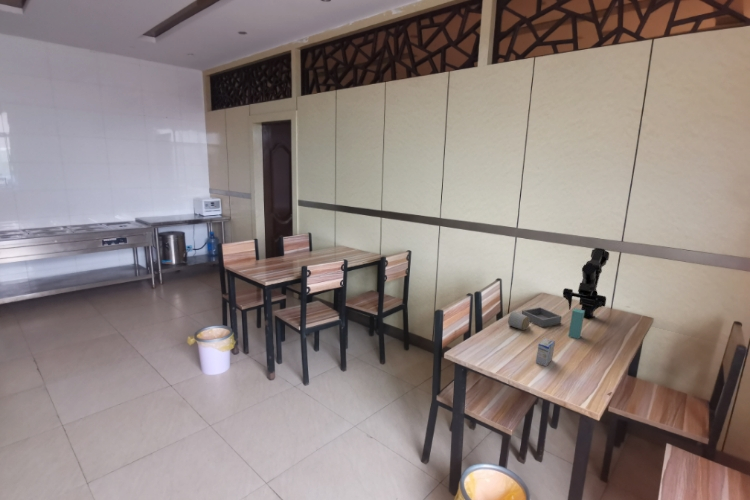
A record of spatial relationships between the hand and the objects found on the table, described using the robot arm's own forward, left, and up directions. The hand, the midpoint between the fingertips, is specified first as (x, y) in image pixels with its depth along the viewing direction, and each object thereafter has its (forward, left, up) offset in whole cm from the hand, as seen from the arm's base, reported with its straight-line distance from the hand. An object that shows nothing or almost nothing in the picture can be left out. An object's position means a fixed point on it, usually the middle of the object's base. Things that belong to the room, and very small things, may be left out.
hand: (579, 311), depth 190 cm
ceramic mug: (+21, -16, -11) cm, 29 cm away
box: (+4, -18, -11) cm, 22 cm away
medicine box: (+39, +14, -11) cm, 43 cm away
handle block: (+4, +2, -11) cm, 12 cm away
